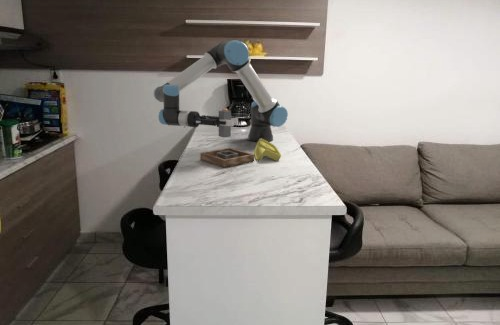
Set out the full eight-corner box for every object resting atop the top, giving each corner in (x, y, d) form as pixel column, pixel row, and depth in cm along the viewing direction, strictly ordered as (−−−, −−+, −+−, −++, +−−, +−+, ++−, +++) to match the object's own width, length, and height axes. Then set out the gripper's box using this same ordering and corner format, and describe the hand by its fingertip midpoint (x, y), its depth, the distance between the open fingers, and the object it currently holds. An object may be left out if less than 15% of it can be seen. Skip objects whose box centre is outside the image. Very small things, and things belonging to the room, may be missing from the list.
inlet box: (229, 154, 196) (229, 147, 195) (254, 161, 184) (254, 153, 183) (200, 160, 184) (200, 152, 183) (224, 168, 172) (224, 159, 171)
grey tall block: (225, 135, 186) (225, 108, 183) (230, 136, 183) (230, 108, 180) (218, 136, 184) (218, 108, 180) (223, 137, 181) (224, 109, 177)
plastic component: (282, 156, 185) (264, 148, 183) (274, 169, 187) (256, 161, 184) (274, 144, 204) (258, 136, 201) (268, 156, 205) (251, 149, 203)
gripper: (198, 123, 196) (241, 127, 190) (181, 129, 179) (228, 133, 173) (198, 109, 194) (242, 111, 188) (180, 113, 177) (228, 116, 171)
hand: (235, 122), depth 180 cm, fingers closed on grey tall block, 5 cm apart
